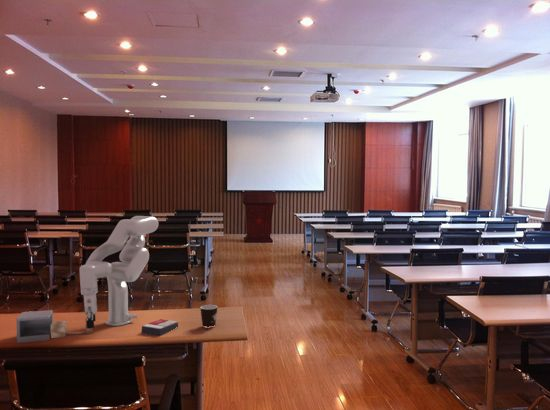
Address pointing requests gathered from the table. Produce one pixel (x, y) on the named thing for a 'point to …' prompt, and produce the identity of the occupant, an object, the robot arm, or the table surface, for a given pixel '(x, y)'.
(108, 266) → the robot arm
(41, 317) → the block
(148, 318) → the table surface
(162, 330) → the flat cardboard box
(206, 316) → the coffee mug
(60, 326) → the corded block
